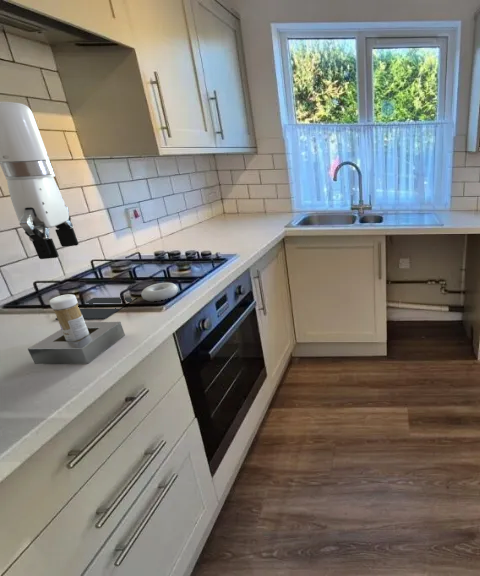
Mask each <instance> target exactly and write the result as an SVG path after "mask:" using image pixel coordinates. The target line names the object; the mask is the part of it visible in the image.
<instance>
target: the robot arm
mask: <svg viewBox="0 0 480 576" xmlns="http://www.w3.org/2000/svg"><path fill="white" fill-rule="evenodd" d="M48 154H49V153H48V152H47V149H46V146H45V142H44V140H43V138H42V135H41V132H40V129H39V127H38V124H37V121H36V118H35V116H34V113H33V111H32V109H30V107H29V106H27V104H25V103H21V102H15V101H14V102H13V101H0V168H1V170H2V172H3V175H4V178H5V180H6V182H7V189H8V194H9V197H10V200H11V203H12V206H13V209H14V212H15V214H16V217H17V221H18V222H19V223H18V224H19V226H20V227H21V229H22V230H23V231H24V234H25V235H26V236H28V239H29V241H30V242H32V243H31V244H33V248H34V250H35V252H36V254H37V257H38V259H39V260H47V259H48V260H50V259H56V258H58V257H59V252H58V250H57V248H56V244H55V243H54V240H53V238H50V229H52V228H54V227H55V228H56V229H55V230H54V231H55V233H56V236H57V239H58V241H59V244H60V246H61V247H63V248H65V247H66V248H67V247H75V246H78V245H79V244H80V243H79V241H78V238H77V236H76V231H75V230H74V225H73V222H71V221H72V220H71V219H72V218H71V216H70V211H69V207H68V206H67V204H66V202H65V200H64V198H63V195H62V193H61V191H60V189H59V186H58V184H57V182H56V180H55V178H54V177H56V173H55V171H54V168H53V165H52V163H51V160H50V157H49V155H48Z"/></svg>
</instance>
